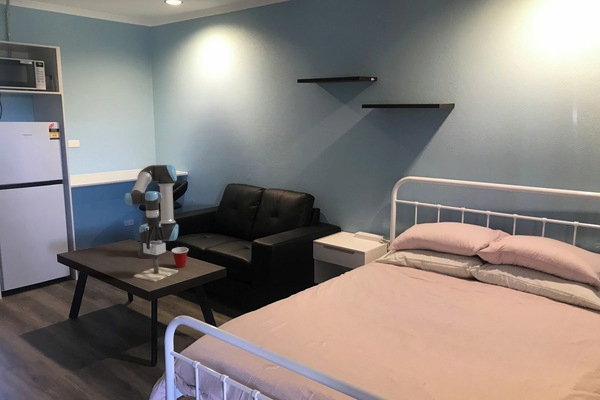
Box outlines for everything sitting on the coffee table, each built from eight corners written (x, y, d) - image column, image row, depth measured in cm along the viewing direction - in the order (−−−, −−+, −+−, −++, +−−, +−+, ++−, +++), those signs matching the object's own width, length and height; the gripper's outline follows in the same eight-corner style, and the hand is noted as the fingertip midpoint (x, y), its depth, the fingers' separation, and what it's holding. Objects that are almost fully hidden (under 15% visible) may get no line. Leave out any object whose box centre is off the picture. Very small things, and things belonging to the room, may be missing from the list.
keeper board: (157, 267, 312) (156, 251, 310) (178, 272, 303) (177, 254, 301) (133, 276, 294) (132, 259, 292) (155, 281, 286) (153, 263, 284)
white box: (153, 249, 302) (152, 240, 301) (165, 251, 297) (165, 242, 296) (143, 252, 295) (142, 243, 294) (156, 255, 290) (155, 245, 289)
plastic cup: (172, 270, 307) (171, 252, 305) (172, 265, 317) (171, 247, 315) (189, 268, 310) (188, 250, 308) (188, 263, 320) (187, 246, 318)
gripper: (144, 220, 281) (146, 257, 285) (169, 214, 299) (171, 248, 303) (135, 219, 285) (137, 255, 289) (160, 213, 303) (162, 247, 307)
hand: (154, 252), depth 296 cm, fingers closed on white box, 8 cm apart
